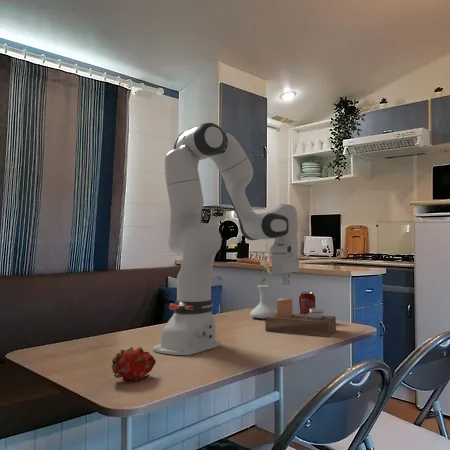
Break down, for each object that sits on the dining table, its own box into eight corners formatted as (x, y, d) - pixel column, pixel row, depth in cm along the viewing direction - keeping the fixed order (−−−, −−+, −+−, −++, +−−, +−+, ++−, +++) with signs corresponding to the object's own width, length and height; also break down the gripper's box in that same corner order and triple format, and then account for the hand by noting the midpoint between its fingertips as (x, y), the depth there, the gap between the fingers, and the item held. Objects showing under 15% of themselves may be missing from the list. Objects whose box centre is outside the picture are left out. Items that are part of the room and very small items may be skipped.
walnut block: (327, 336, 153) (327, 321, 153) (265, 331, 164) (265, 317, 164) (335, 330, 164) (335, 316, 164) (277, 325, 174) (276, 312, 175)
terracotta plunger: (289, 319, 163) (289, 300, 163) (276, 318, 166) (275, 299, 166) (293, 317, 168) (293, 298, 168) (280, 316, 170) (280, 297, 170)
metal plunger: (321, 330, 158) (321, 310, 158) (307, 329, 160) (307, 309, 160) (325, 327, 162) (325, 308, 162) (311, 326, 165) (311, 307, 165)
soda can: (317, 323, 178) (316, 293, 178) (300, 323, 178) (299, 293, 178) (314, 320, 184) (313, 291, 185) (297, 320, 185) (297, 291, 185)
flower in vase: (274, 320, 184) (273, 260, 185) (247, 319, 187) (247, 260, 188) (278, 315, 197) (277, 259, 198) (253, 314, 200) (252, 259, 201)
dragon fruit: (106, 390, 105) (151, 387, 112) (121, 375, 100) (167, 373, 107) (102, 356, 110) (145, 356, 117) (116, 340, 105) (160, 340, 112)
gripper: (287, 247, 178) (288, 282, 177) (268, 248, 160) (268, 286, 159) (303, 247, 175) (303, 283, 174) (284, 248, 157) (285, 287, 156)
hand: (286, 284), depth 166 cm, fingers closed
